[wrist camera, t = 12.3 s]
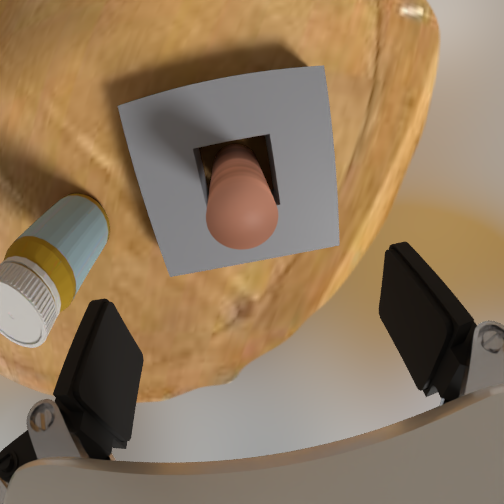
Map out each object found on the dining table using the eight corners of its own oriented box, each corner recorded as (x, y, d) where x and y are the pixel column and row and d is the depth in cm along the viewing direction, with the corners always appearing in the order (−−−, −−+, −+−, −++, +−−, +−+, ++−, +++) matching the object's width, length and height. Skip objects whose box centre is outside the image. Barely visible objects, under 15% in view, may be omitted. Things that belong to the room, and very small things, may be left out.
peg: (209, 148, 26) (198, 191, 16) (253, 140, 26) (272, 177, 16) (218, 189, 28) (214, 255, 18) (260, 181, 28) (282, 242, 18)
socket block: (132, 103, 23) (117, 105, 20) (310, 68, 23) (323, 65, 19) (175, 254, 31) (170, 276, 28) (326, 226, 31) (339, 245, 28)
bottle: (50, 192, 26) (-37, 271, 13) (107, 189, 27) (30, 277, 14) (62, 250, 30) (-2, 344, 17) (116, 251, 30) (64, 357, 18)
